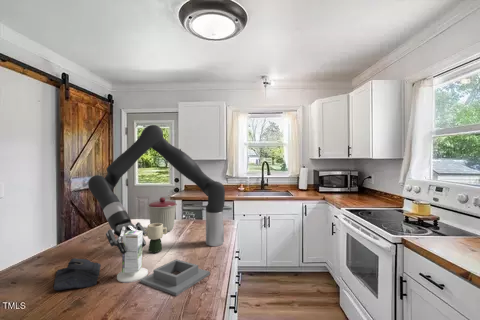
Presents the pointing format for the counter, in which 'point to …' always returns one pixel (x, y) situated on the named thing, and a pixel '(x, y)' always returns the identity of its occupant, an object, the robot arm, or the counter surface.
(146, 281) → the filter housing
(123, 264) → the syrup box
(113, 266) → the counter surface
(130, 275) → the rubber pad
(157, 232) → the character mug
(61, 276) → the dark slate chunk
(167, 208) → the canister
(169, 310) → the counter surface
